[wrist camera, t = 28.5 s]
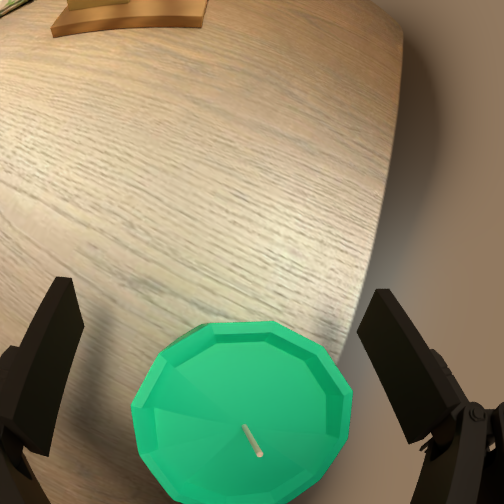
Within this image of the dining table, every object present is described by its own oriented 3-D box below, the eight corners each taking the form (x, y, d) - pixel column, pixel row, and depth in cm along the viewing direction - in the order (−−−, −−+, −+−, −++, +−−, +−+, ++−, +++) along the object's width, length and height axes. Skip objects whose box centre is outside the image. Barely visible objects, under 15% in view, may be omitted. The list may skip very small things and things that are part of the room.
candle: (250, 309, 18) (347, 280, 7) (279, 401, 17) (397, 487, 6) (152, 337, 17) (75, 357, 5) (184, 431, 16) (180, 567, 4)
